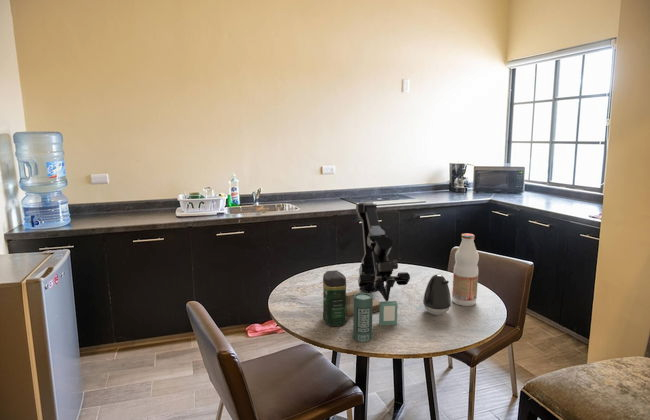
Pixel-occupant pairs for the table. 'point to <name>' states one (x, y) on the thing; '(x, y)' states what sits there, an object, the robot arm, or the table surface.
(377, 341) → the table surface
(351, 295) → the tan wooden block
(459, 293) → the fruit juice
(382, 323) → the mint green block
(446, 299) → the dark rounded piece
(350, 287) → the table surface
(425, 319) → the table surface
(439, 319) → the table surface
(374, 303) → the brown wooden block
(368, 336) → the can
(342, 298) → the coffee jar
